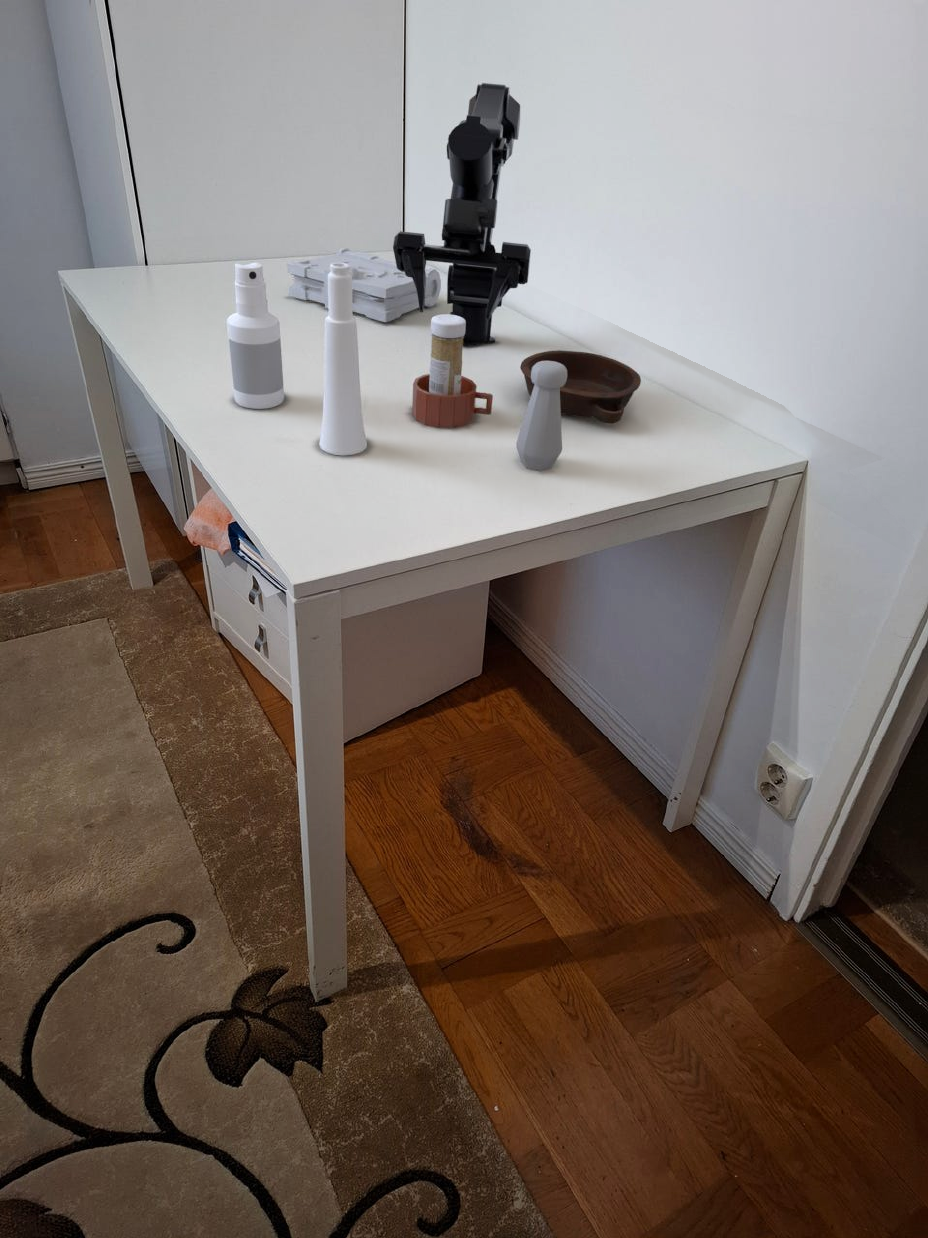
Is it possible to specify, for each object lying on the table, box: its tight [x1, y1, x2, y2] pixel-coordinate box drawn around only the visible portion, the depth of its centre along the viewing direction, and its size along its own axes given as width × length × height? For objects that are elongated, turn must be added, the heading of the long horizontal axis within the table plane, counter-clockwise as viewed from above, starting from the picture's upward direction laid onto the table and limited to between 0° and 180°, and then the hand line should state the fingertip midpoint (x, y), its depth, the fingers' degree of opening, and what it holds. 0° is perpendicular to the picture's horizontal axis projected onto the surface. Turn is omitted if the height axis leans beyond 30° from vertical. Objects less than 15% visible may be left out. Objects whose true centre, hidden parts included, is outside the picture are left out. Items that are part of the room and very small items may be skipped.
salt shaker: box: [515, 361, 567, 472], centre depth 102 cm, size 6×6×13 cm
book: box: [286, 247, 442, 323], centre depth 155 cm, size 19×28×8 cm
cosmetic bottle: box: [318, 263, 368, 456], centre depth 99 cm, size 6×6×22 cm
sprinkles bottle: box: [429, 313, 466, 395], centre depth 112 cm, size 5×5×14 cm
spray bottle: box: [226, 261, 285, 410], centre depth 110 cm, size 7×7×18 cm
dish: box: [519, 349, 642, 424], centre depth 122 cm, size 18×22×5 cm
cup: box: [411, 373, 494, 429], centre depth 114 cm, size 11×9×4 cm
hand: (454, 314), depth 113 cm, fingers open, 9 cm apart
